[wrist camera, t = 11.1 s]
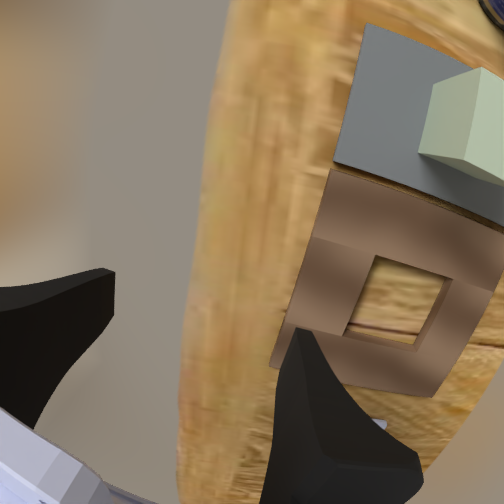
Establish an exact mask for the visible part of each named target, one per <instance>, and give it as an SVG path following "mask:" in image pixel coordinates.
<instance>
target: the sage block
mask: <svg viewBox="0 0 504 504" xmlns="http://www.w3.org/2000/svg"><path fill="white" fill-rule="evenodd" d="M418 153H420V154H423V155H425V156H427V157H430V158H432V159H435V160H437V161H439V162H442V163H444V164H446V165H448V166H451V167H453V168H455V169H457V170H460V171H462V172H464V173H466V174H468V175H470V176H472V177H474V178H477V179H480V180H484V181H487V182H490V183H493V184H497V185H500V186H503V187H504V80H502V79H501V78H499V77H498V76H496V75H494V74H493V73H491V72H489V71H488V70H486V69H484V68H483V67H480V68H477V69H474V70H471V71H468V72H465V73H463V74H460V75H457V76H454V77H452V78H449V79H446V80H443V81H441V82H438V83H436V84H433V89H432V94H431V99H430V103H429V108H428V113H427V117H426V121H425V126H424V130H423V134H422V138H421V142H420V146H419V149H418Z"/></svg>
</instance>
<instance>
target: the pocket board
mask: <svg viewBox="0 0 504 504" xmlns="http://www.w3.org/2000/svg"><path fill="white" fill-rule="evenodd" d="M375 255H378V256H382V257H385V258H388V259H391V260H395V261H398V262H401V263H404V264H408V265H411V266H414V267H417V268H421V269H424V270H427V271H430V272H433V273H436V274H440V275H443V276H446V279H445V281H444V283H443V286H442V288H441V290H440V292H439V294H438V297H437V299H436V301H435V303H434V305H433V307H432V309H431V311H430V313H429V315H428V317H427V319H426V321H425V323H424V325H423V327H422V329H421V331H420V333H419V335H418V337H417V338H416V340H415V342H414V344H413V345H411V344H406V343H402V342H397V341H393V340H388V339H384V338H379V337H375V336H371V335H366V334H362V333H358V332H354V331H350V330H346V329H345V328H346V326H347V323H348V321H349V319H350V317H351V314H352V312H353V310H354V307H355V305H356V302H357V300H358V298H359V295H360V293H361V290H362V288H363V285H364V283H365V280H366V278H367V275H368V273H369V270H370V267H371V265H372V262H373V260H374V257H375ZM503 270H504V234H503V233H501V232H499V231H496V230H494V229H492V228H490V227H488V226H485V225H483V224H481V223H479V222H476V221H474V220H472V219H469V218H467V217H465V216H462V215H460V214H458V213H455V212H453V211H450V210H448V209H445V208H443V207H440V206H438V205H435V204H433V203H430V202H427V201H425V200H422V199H420V198H417V197H414V196H412V195H409V194H406V193H403V192H401V191H398V190H395V189H392V188H389V187H386V186H383V185H380V184H378V183H375V182H372V181H369V180H366V179H362V178H359V177H356V176H353V175H350V174H347V173H344V172H340V171H337V170H334V169H330V171H329V175H328V178H327V182H326V185H325V189H324V192H323V196H322V199H321V203H320V206H319V210H318V213H317V216H316V220H315V223H314V226H313V230H312V233H311V236H310V240H309V243H308V246H307V249H306V252H305V256H304V259H303V262H302V265H301V268H300V271H299V275H298V278H297V281H296V284H295V287H294V290H293V293H292V296H291V299H290V302H289V305H288V308H287V311H286V314H285V317H284V320H283V323H282V326H281V329H280V332H279V335H278V337H277V340H276V343H275V346H274V349H273V352H272V354H271V357H270V362H269V367H273V368H277V369H280V367H281V365H282V362H283V360H284V357H285V354H286V352H287V349H288V347H289V344H290V341H291V339H292V336H293V333H294V331H295V328H296V327H298V328H302V329H306V330H310V331H312V332H313V334H314V336H315V338H316V340H317V342H318V344H319V346H320V348H321V350H322V352H323V354H324V356H325V358H326V360H327V362H328V363H329V365H330V367H331V369H332V370H333V372H334V374H335V375H336V377H337V378H338V380H339V381H340V383H343V384H348V385H354V386H359V387H364V388H370V389H376V390H382V391H388V392H394V393H401V394H407V395H415V396H422V397H430V398H432V397H433V395H434V394H435V393H436V391H437V390H438V388H439V387H440V385H441V384H442V382H443V381H444V379H445V378H446V376H447V375H448V373H449V372H450V370H451V369H452V367H453V366H454V364H455V362H456V361H457V359H458V358H459V356H460V354H461V353H462V351H463V349H464V347H465V346H466V344H467V342H468V341H469V339H470V337H471V335H472V334H473V332H474V330H475V328H476V326H477V324H478V322H479V321H480V319H481V317H482V315H483V313H484V311H485V309H486V307H487V305H488V303H489V301H490V299H491V297H492V295H493V292H494V290H495V288H496V286H497V284H498V282H499V279H500V277H501V275H502V272H503Z"/></svg>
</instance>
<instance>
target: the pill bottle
mask: <svg viewBox="0 0 504 504" xmlns="http://www.w3.org/2000/svg"><path fill="white" fill-rule="evenodd" d="M479 2H480V4H481V6H482V8H483V9H484V11H485V12H486V14H487V15H488V16H489V18H490V19H491V20H492V21H493V22H494V23H495V24H496V25H497V26H498V27H499V28H500V29H502V30H503V31H504V0H479Z"/></svg>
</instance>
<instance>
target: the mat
mask: <svg viewBox="0 0 504 504" xmlns="http://www.w3.org/2000/svg"><path fill="white" fill-rule="evenodd" d="M471 70H474V69H473V68H471V67H469V66H467V65H465V64H463V63H461V62H459V61H458V60H456V59H454V58H452V57H450V56H448V55H446V54H443V53H441V52H439V51H437V50H435V49H433V48H431V47H428V46H426V45H424V44H422V43H419V42H417V41H415V40H412V39H410V38H407V37H405V36H402V35H400V34H397V33H394V32H392V31H389V30H386V29H384V28H381V27H378V26H375V25H372V24H369V23H366V25H365V29H364V34H363V39H362V43H361V48H360V52H359V57H358V61H357V65H356V70H355V74H354V78H353V82H352V87H351V91H350V95H349V99H348V103H347V107H346V111H345V115H344V119H343V123H342V127H341V130H340V134H339V138H338V142H337V146H336V149H335V153H334V157H333V161H335V162H339V163H342V164H345V165H348V166H351V167H355V168H358V169H361V170H364V171H367V172H370V173H373V174H376V175H379V176H382V177H385V178H387V179H390V180H393V181H396V182H399V183H401V184H404V185H407V186H410V187H412V188H415V189H418V190H420V191H423V192H425V193H428V194H431V195H433V196H436V197H438V198H441V199H443V200H445V201H448V202H450V203H453V204H455V205H457V206H460V207H462V208H464V209H467V210H469V211H471V212H474V213H476V214H478V215H480V216H483V217H485V218H487V219H489V220H491V221H493V222H496V223H498V224H500V225H502V226H504V187H503V186H500V185H497V184H493V183H490V182H487V181H484V180H480V179H477V178H474V177H472V176H470V175H468V174H466V173H464V172H462V171H460V170H457V169H455V168H453V167H451V166H448V165H446V164H444V163H442V162H439V161H437V160H435V159H432V158H430V157H427V156H425V155H423V154H420V153H418V149H419V146H420V142H421V138H422V134H423V130H424V126H425V121H426V117H427V113H428V108H429V103H430V99H431V94H432V89H433V84H436V83H438V82H441V81H443V80H446V79H449V78H452V77H454V76H457V75H460V74H463V73H465V72H468V71H471Z"/></svg>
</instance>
